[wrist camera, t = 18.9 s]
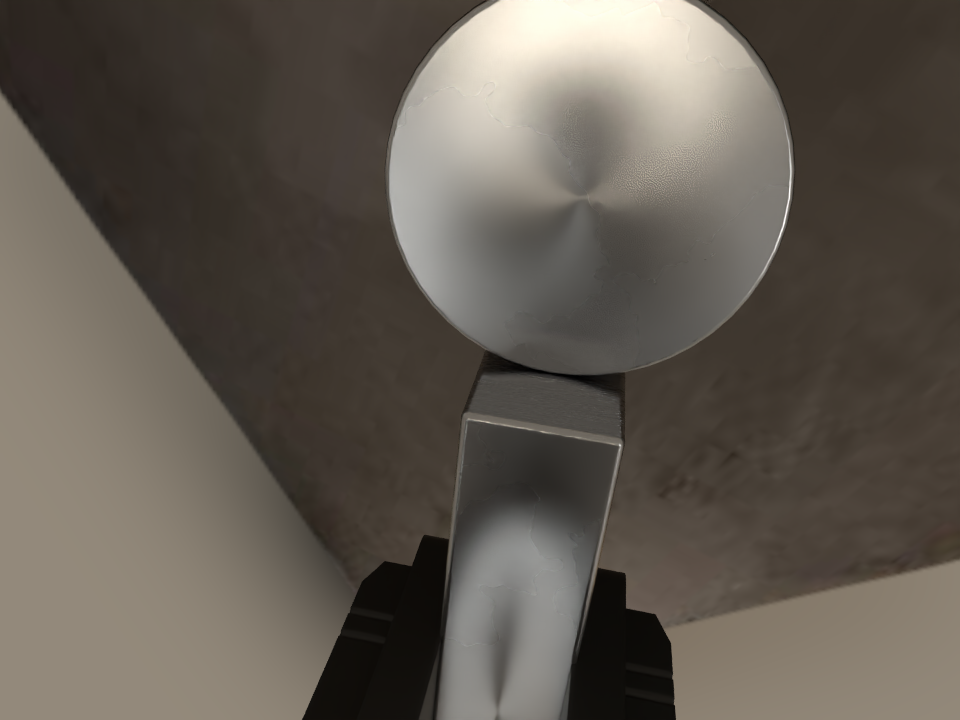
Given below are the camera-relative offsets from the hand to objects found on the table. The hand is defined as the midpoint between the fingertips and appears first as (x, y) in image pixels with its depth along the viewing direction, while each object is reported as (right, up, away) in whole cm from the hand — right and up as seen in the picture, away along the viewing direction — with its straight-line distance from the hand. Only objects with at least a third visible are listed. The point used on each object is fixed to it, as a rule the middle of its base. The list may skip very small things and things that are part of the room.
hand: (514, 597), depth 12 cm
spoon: (0, +2, -1) cm, 3 cm away
